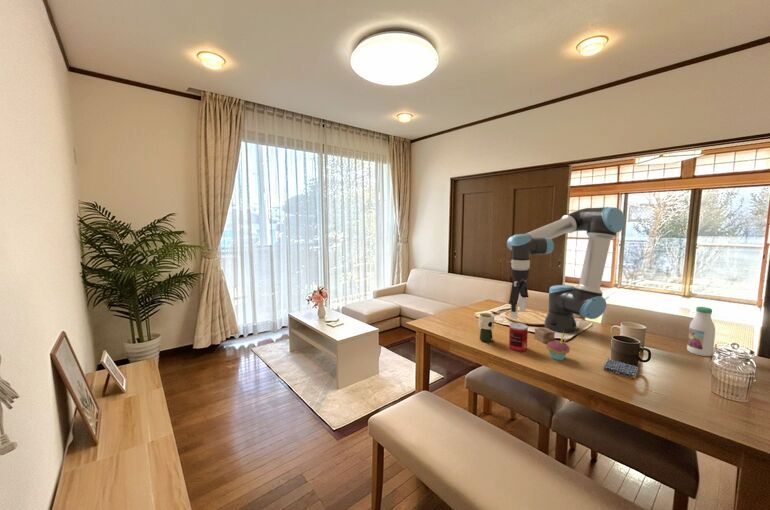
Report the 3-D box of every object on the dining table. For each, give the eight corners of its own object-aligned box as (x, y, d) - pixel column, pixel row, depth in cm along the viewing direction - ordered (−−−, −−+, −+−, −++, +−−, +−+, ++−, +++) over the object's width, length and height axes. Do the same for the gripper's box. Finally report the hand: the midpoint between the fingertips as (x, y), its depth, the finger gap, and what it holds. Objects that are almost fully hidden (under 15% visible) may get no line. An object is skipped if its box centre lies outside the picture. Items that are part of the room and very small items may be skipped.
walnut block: (545, 337, 151) (545, 327, 150) (553, 341, 145) (554, 332, 145) (534, 338, 150) (534, 328, 149) (543, 343, 144) (543, 333, 143)
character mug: (487, 345, 143) (488, 319, 141) (474, 341, 148) (474, 316, 146) (497, 338, 151) (498, 313, 149) (484, 334, 156) (484, 310, 154)
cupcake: (567, 355, 131) (568, 328, 130) (570, 364, 124) (571, 336, 122) (545, 352, 135) (546, 326, 133) (546, 360, 127) (547, 333, 126)
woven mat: (638, 370, 118) (639, 365, 118) (635, 381, 111) (636, 376, 110) (606, 361, 125) (606, 357, 125) (601, 371, 118) (601, 366, 118)
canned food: (523, 344, 143) (524, 322, 141) (529, 352, 135) (530, 328, 134) (506, 344, 144) (507, 322, 142) (512, 352, 136) (512, 328, 134)
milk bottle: (704, 349, 132) (709, 306, 129) (717, 357, 125) (722, 311, 122) (682, 347, 135) (687, 304, 132) (693, 355, 127) (698, 310, 125)
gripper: (519, 264, 146) (517, 306, 149) (502, 272, 127) (500, 320, 130) (536, 265, 142) (534, 309, 144) (521, 274, 123) (519, 323, 125)
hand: (518, 314), depth 137 cm, fingers open, 13 cm apart
